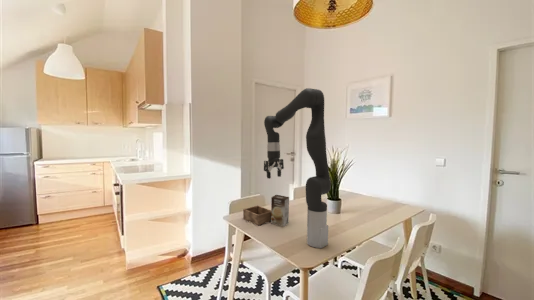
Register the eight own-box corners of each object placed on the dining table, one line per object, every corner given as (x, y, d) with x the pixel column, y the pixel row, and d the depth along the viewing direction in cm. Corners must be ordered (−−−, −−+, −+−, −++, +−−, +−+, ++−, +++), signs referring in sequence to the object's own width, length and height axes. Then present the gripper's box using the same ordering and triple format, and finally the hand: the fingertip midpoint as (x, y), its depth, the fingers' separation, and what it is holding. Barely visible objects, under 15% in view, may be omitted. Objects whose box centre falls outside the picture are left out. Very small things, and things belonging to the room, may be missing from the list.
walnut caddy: (273, 220, 148) (273, 211, 147) (258, 225, 140) (258, 215, 140) (257, 214, 159) (257, 205, 158) (243, 218, 151) (243, 209, 150)
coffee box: (270, 223, 143) (270, 196, 142) (275, 220, 149) (275, 194, 148) (284, 226, 139) (284, 199, 137) (289, 223, 144) (289, 196, 143)
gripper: (269, 151, 135) (269, 179, 135) (286, 149, 144) (287, 176, 145) (260, 150, 140) (260, 178, 141) (277, 149, 150) (278, 175, 151)
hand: (274, 177), depth 143 cm, fingers open, 8 cm apart
